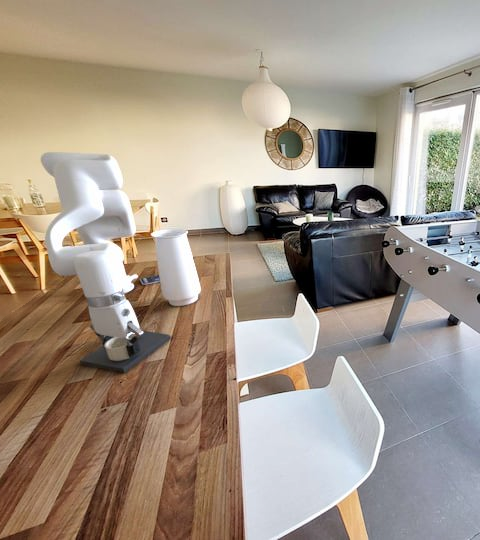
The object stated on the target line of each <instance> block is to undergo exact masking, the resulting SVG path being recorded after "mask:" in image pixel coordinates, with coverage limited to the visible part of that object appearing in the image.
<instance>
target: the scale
mask: <svg viewBox="0 0 480 540" xmlns="http://www.w3.org/2000/svg"><path fill="white" fill-rule="evenodd" d="M139 329H140V330H142V328H141V327H140V326H139ZM142 331H143V332H144V334H143V335H142V336H141V338H140V340H139V341H138V342H139V346H140V349H141V351H140V352H139V353H138V354H136V355H135V356H134V357H132V358H131V357H130V358H128V359H125V360H121V361H114V360H110V359H109V358H108V355H107V353H106V352H105V349H104V346H103V345H102V346H101V347H100V348H98V349H96V350H94V351H93V352H90V353H89V354H88V355H86V356H85V357H83V358H81V359H79V362H80V365H82V366H87V367H92V368H98V369H103V370H108V371H115V372H119V373H126V372H128V371H129V370H130V369H132V368H133V367H134V366H136V365H137V364H138V363H140V362H141V361H142V360H143V359H145V358H146V357H148V356H149V355H150V354H151V353H153V352H154V351H156V350H157V349H159V347H161V346H162V345H164V344H165V343H166V342H167V341H169V340H170V339H171V335H170V334H167V333H160V332H154V331H148V330H142Z"/></svg>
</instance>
